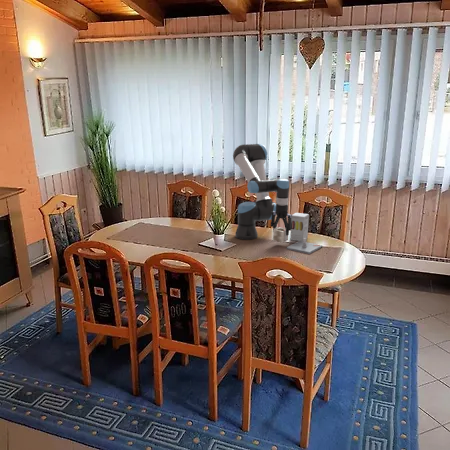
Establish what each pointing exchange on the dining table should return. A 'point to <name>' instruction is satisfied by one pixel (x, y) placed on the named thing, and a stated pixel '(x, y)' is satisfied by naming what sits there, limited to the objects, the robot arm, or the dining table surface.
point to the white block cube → (279, 234)
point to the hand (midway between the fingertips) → (280, 238)
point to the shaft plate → (304, 247)
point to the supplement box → (299, 226)
